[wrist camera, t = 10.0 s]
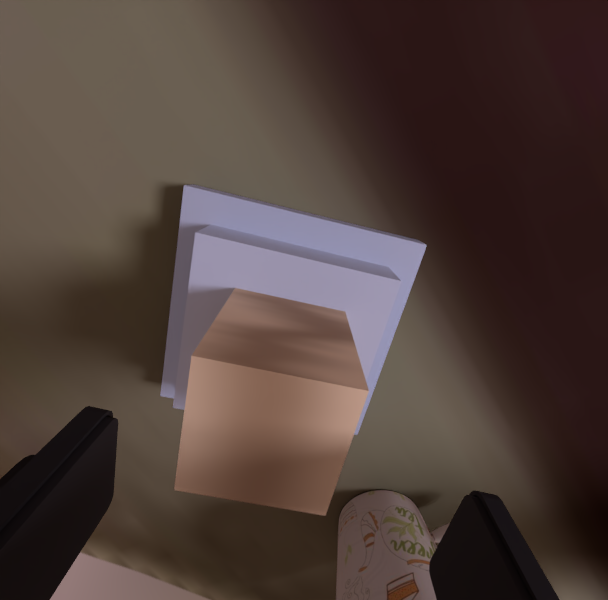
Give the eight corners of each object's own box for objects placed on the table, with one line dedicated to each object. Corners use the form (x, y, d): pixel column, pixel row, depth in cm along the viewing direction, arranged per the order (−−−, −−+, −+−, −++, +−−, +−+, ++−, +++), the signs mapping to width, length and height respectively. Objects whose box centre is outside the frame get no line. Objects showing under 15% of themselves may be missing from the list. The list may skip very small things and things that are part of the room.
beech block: (345, 311, 15) (368, 390, 9) (318, 402, 17) (325, 516, 11) (235, 287, 15) (191, 355, 9) (219, 382, 16) (174, 490, 11)
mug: (303, 500, 24) (302, 701, 15) (470, 438, 22) (589, 625, 13) (350, 568, 27) (375, 777, 18) (504, 518, 25) (624, 722, 16)
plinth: (417, 239, 18) (447, 256, 14) (354, 418, 22) (364, 468, 18) (194, 184, 17) (162, 185, 13) (170, 381, 21) (140, 425, 17)
